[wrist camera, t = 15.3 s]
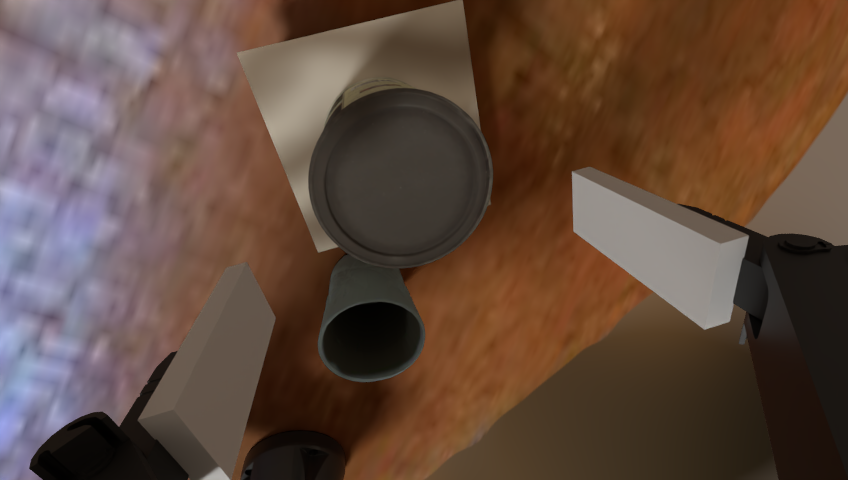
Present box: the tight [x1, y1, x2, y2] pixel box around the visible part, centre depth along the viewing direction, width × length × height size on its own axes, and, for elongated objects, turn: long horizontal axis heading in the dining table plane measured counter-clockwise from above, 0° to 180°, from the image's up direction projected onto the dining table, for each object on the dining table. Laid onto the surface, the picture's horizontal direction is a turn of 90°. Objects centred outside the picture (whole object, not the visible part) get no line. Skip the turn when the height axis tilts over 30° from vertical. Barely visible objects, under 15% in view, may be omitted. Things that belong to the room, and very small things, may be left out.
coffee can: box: [308, 77, 493, 268], centre depth 27 cm, size 10×10×14 cm
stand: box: [237, 0, 491, 253], centre depth 35 cm, size 18×18×6 cm
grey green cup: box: [318, 254, 425, 382], centre depth 40 cm, size 10×10×12 cm
